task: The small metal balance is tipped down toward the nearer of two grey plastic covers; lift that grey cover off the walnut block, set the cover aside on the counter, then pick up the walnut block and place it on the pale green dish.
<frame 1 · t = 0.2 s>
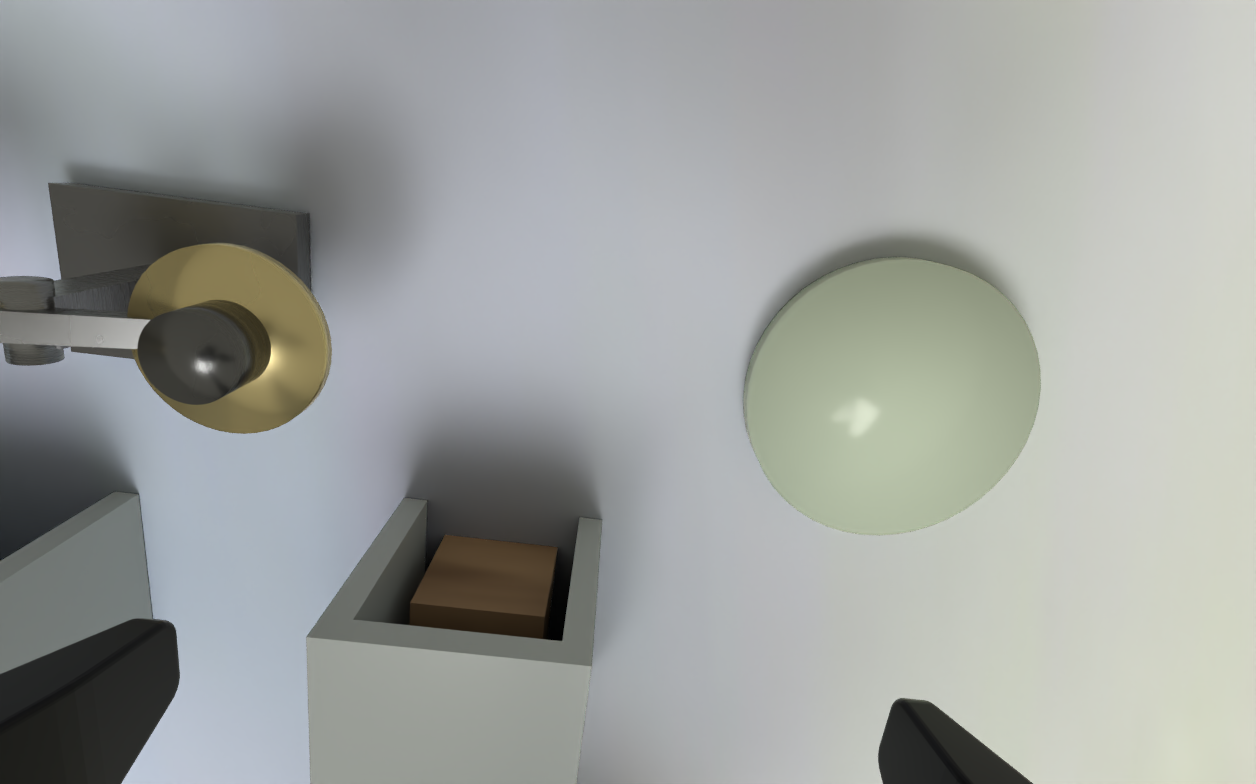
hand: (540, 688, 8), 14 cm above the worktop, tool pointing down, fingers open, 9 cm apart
block: (498, 587, 24), on the worktop
balance: (196, 281, 20), on the worktop
cover b: (49, 565, 23), on the worktop
cover a: (497, 589, 24), on the worktop
dish: (879, 395, 22), on the worktop
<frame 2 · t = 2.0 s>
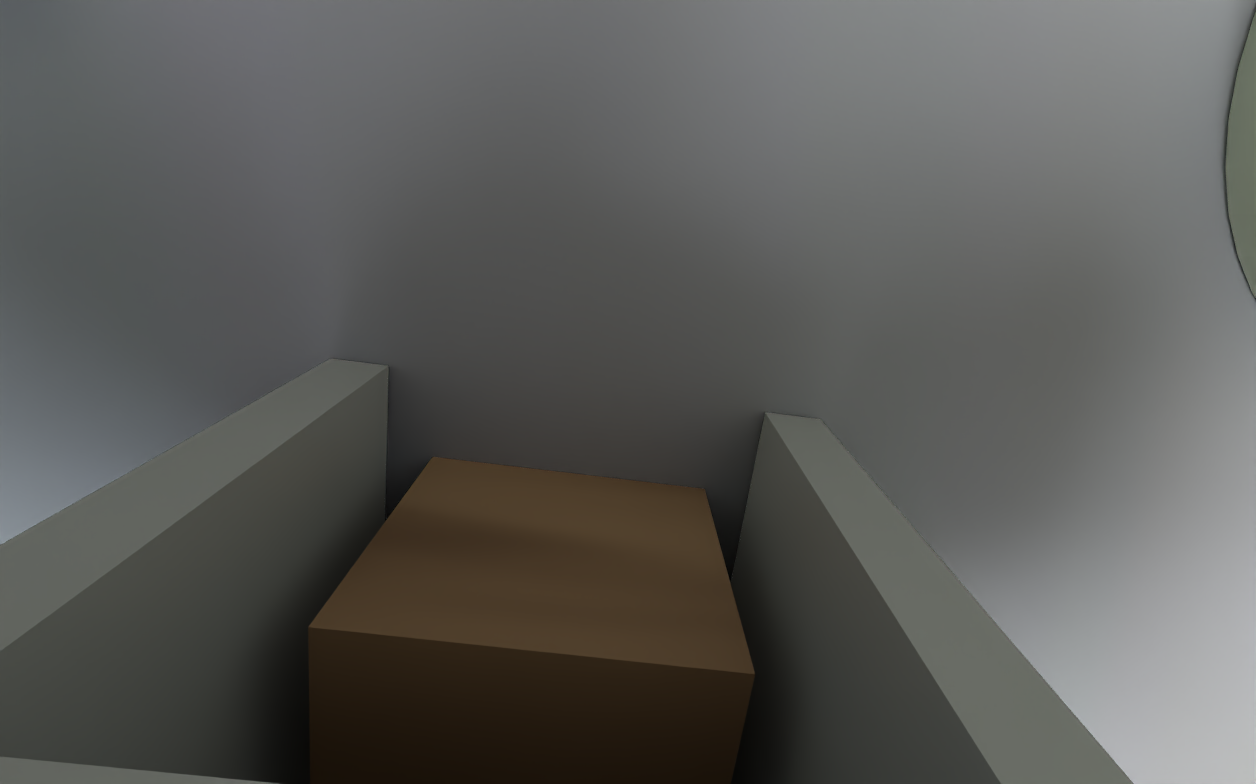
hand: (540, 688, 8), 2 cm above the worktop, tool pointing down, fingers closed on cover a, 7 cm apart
block: (556, 587, 10), on the worktop
cover a: (556, 591, 10), on the worktop, touching gripper
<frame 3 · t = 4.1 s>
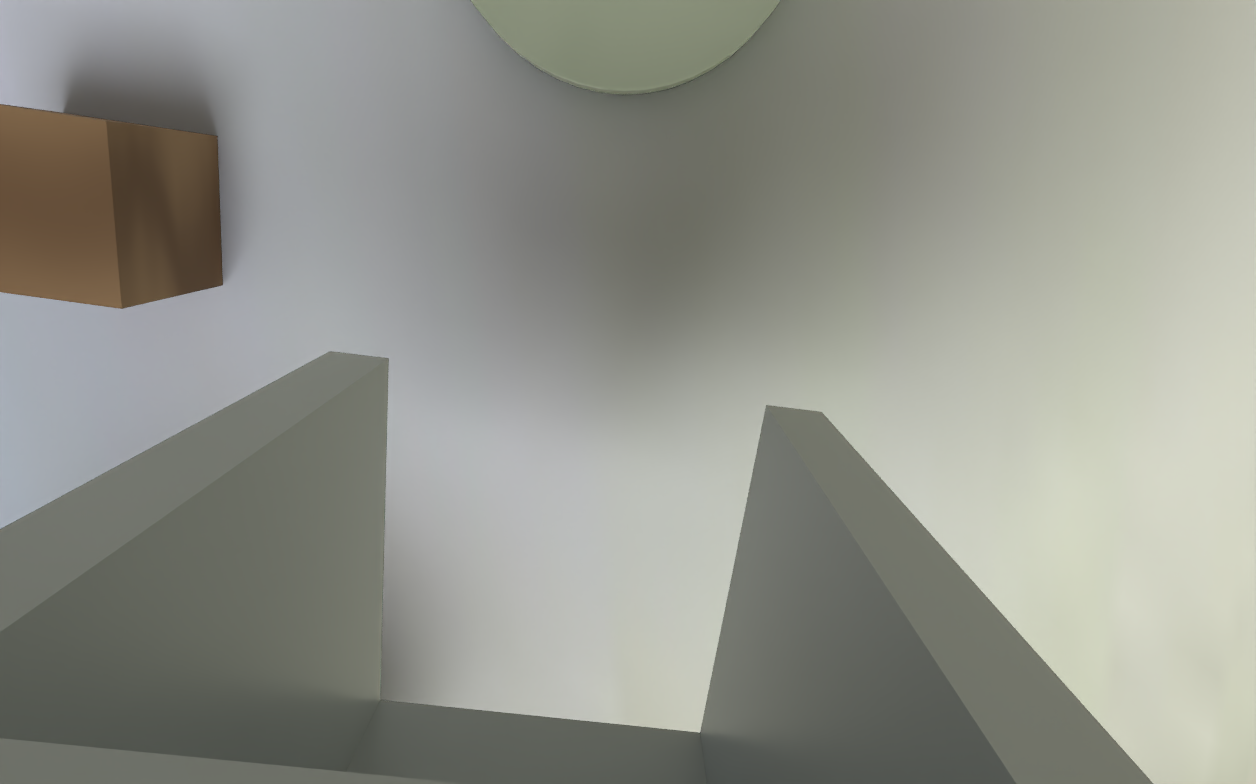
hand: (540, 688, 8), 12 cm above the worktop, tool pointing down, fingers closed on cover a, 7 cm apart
block: (147, 202, 18), on the worktop
cover a: (556, 586, 10), point 10 cm above the worktop, touching gripper
when the fingers open (3 cm above the worktop, at t = 6.3 s): cover a stays where it is, on the worktop.
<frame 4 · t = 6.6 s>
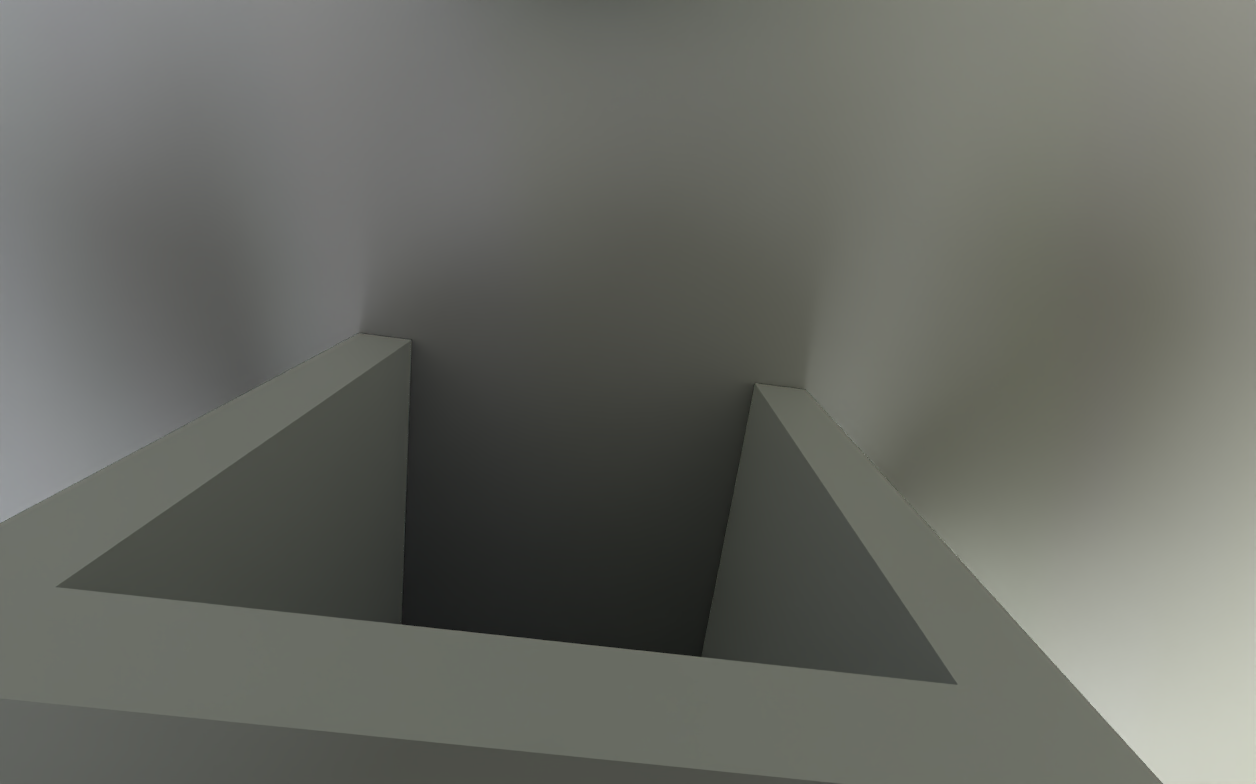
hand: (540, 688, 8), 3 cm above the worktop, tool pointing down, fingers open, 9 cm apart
cover a: (563, 550, 11), on the worktop
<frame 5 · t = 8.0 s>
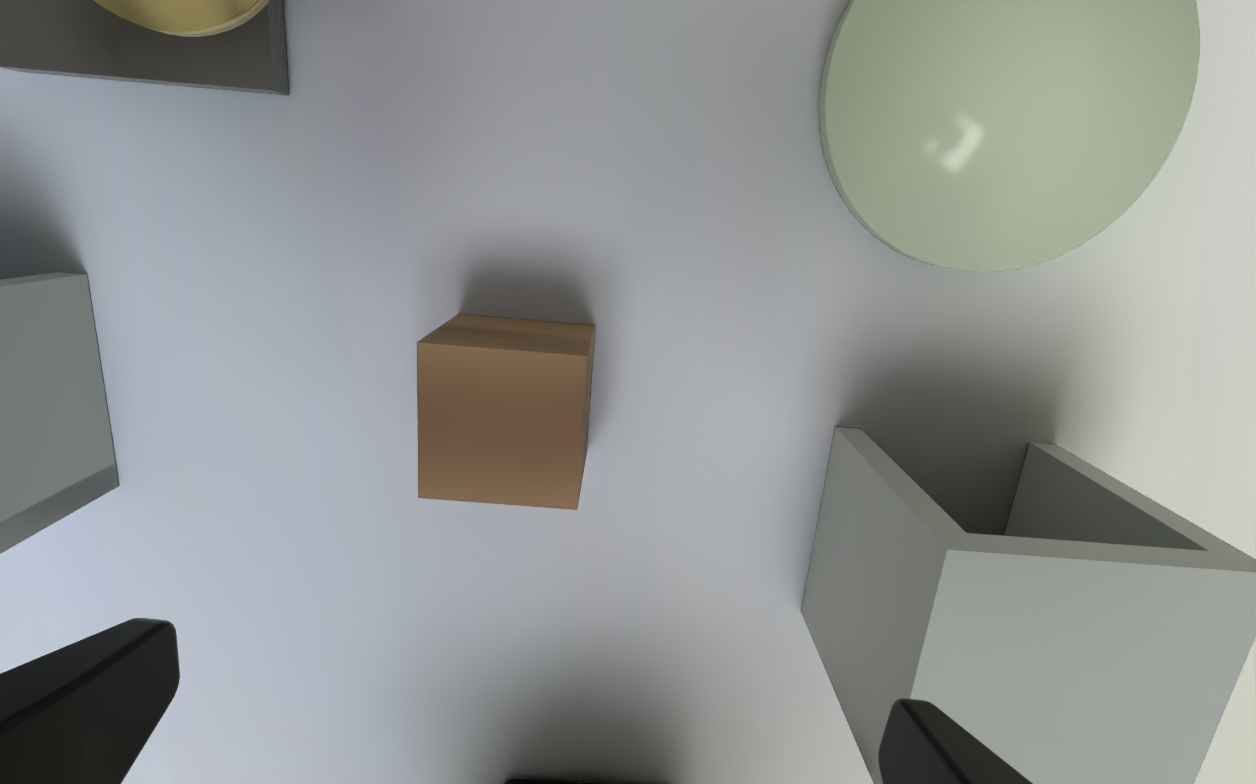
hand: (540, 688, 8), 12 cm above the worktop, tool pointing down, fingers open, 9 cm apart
block: (525, 384, 20), on the worktop
cover a: (923, 531, 21), on the worktop
dish: (988, 96, 17), on the worktop
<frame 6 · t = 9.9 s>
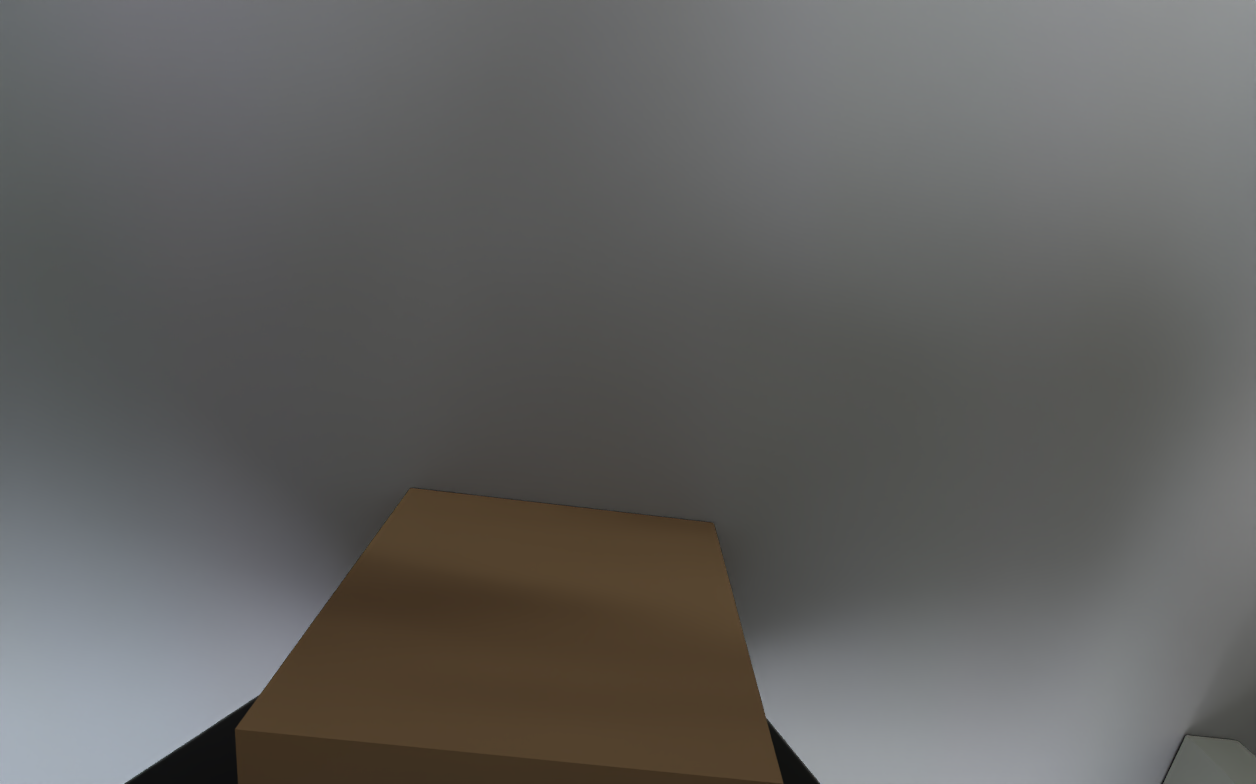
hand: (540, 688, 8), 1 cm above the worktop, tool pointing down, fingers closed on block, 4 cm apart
block: (549, 633, 9), on the worktop, touching gripper
when the fingers open (4 cm above the worktop, at t = 13.4 s): block drops 1 cm, resting on dish.
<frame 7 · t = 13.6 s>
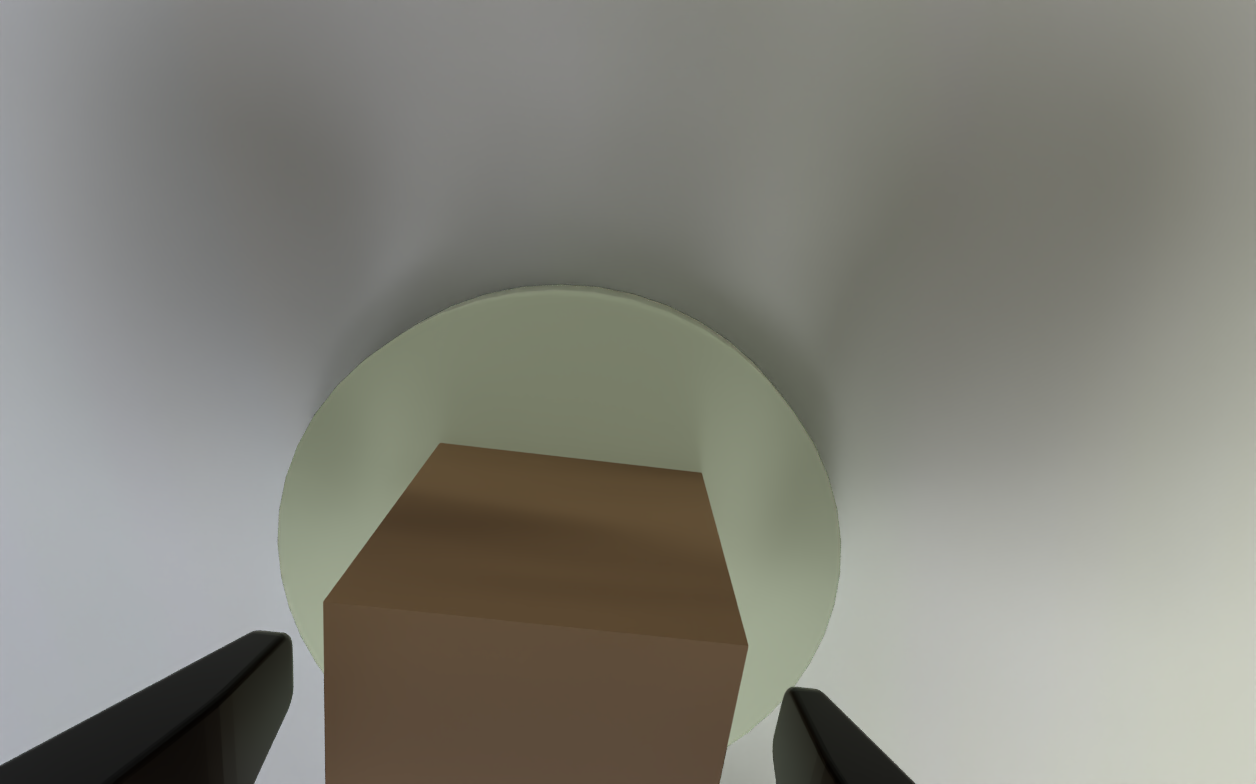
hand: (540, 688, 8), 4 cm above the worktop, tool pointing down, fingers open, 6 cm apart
block: (559, 571, 11), point 1 cm above the worktop, touching dish
dish: (567, 537, 12), on the worktop
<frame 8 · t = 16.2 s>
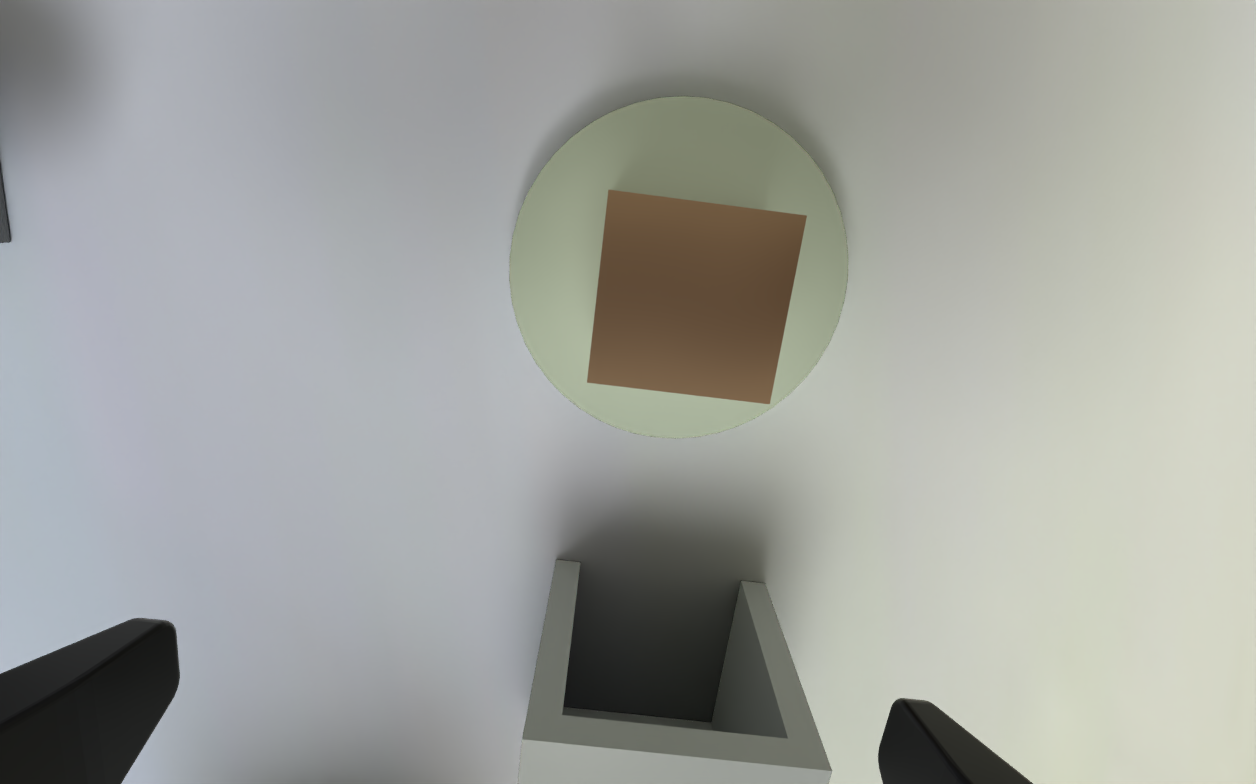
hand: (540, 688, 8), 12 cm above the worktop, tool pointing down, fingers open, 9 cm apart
block: (677, 278, 17), point 1 cm above the worktop, touching dish
cover a: (647, 655, 22), on the worktop
dish: (675, 274, 19), on the worktop
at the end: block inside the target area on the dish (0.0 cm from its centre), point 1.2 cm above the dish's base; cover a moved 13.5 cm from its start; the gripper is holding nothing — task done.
